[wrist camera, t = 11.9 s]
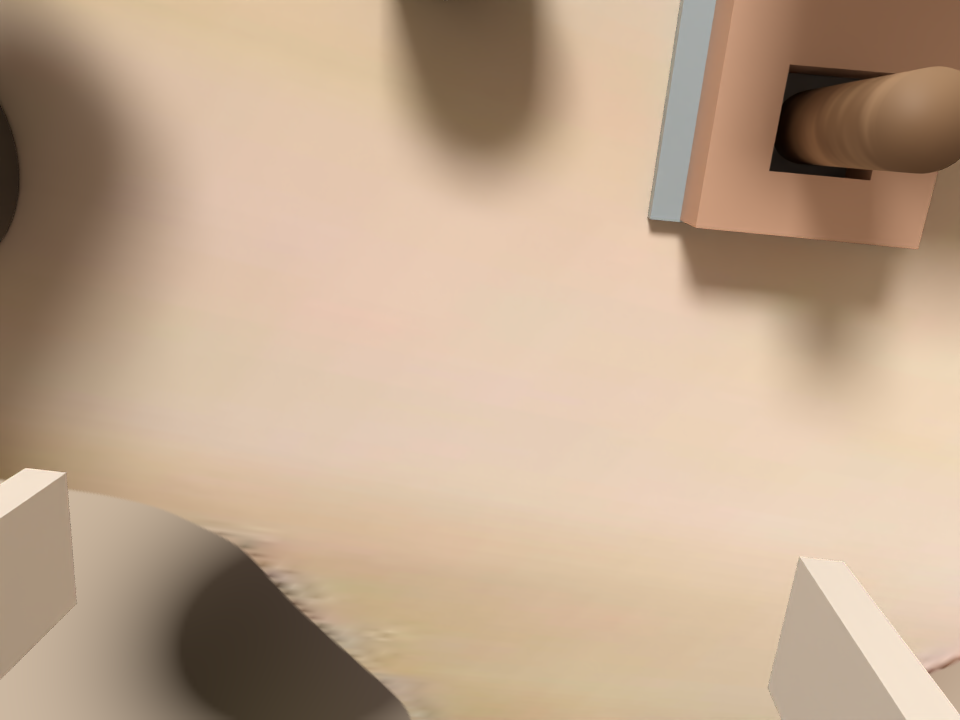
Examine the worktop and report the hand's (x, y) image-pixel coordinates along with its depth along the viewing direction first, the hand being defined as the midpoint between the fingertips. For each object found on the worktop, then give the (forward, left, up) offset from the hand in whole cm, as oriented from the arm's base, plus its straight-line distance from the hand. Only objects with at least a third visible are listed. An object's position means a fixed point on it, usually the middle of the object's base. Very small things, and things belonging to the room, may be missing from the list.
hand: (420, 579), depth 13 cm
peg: (+15, +10, -29) cm, 34 cm away
